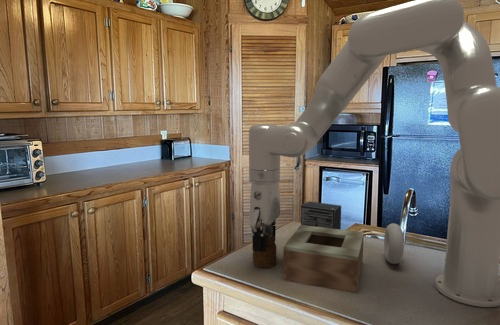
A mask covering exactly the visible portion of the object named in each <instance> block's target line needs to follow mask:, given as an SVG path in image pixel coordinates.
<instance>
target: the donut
mask: <svg viewBox="0 0 500 325" xmlns="http://www.w3.org/2000/svg"><path fill="white" fill-rule="evenodd" d="M404 241H405V240H404V233H403V230H402V228H401V226H400V225H399V224H397V223H390V224H388V225H387V226H386V228H385V231H384V240H383V242H384V243H383V244H384V245H383V250H384V256H385V259H386V260H387V262H388V263H390V264H392V265H397V264H399V263H400V262H401V261H402V259H403V255H404V250H405V247H404V246H405V242H404Z"/></svg>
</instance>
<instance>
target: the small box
mask: <svg viewBox="0 0 500 325" xmlns="http://www.w3.org/2000/svg"><path fill="white" fill-rule="evenodd" d="M300 209H301V210H300V225H306V226H314V227H323V228H331V229H340V230H342V227H341V225H342V223H341V222H342V205H339V204H332V203H331V204H330V203H324V202H316V201H307V202H305V203H302V204H301V205H300Z"/></svg>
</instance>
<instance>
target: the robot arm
mask: <svg viewBox="0 0 500 325" xmlns="http://www.w3.org/2000/svg"><path fill="white" fill-rule="evenodd" d="M413 50H417V51H420V52H423V53H427V54H430V55H432V56H433V57H434V58H435V59H436V60H437V62H438V63H439V65H440V69H441V72H442V77H443V78H442V80H443V82H444V90H445V98H446V99H445V100H446V108H447V120H448V123H449V125H450V126H451V128H452V129H453V130H454V131H455V132H456V133H458V139H459V147H460V148H459V149H458V150H457V151H456V152H455V154H454V155H453V157H452V159H451V163H450V169H449V170H450V171H449V179H450V180H449V181H450V182H449V183H450V186H449V190H450V192H449V196H450V197H449V213H448V224H447V232H446V233H447V236H446V246H445V258H444V259H445V262H444V270H443V272H444V273H443V274H440V275H437V277H436V278H435V283H434V285H435V286H434V287H435V288H436V289H437V291H439V292H440V293H441V294H442V295H443V296H445V297H447V298H448V299H451V300H453V301H456V302H458V303H460V304H461V303H462V304H464V305H469V306H473V307H481V308H493V307H500V275H499V270H500V86H498V85H497V80H496V78H497V77H496V73H495V66H494V62H493V57H492V52H491V49H490V46H489V43H488V42H487V40H486V38H485V36H483V34H482V33H481V32H480V31H479V30H478V29H477V28H475V27H474V26H473V25H472V24H470V23H469V22H467V21H465V12H464V8H463V6H462V3H461V2H459V0H412V1H407V2H404V3H401V4H396V5H392V6H390V7H386V8H382V9H379V10H376V11H372V12H370V13H366V14H364V15H362V16H360V17H359V18H356V20H355V21H354V22H353V23H352V24H351V26H350V28H349V31H348V34H347V41H346V42H345V43H344V45H343V46H342V48H341V49H340V51H338V53H337V54H336V56H335V57H334V58H333V60H332V61H331V62H330V64H329V65H328V66H327V68H326V69H325V70H324V72H323V73H322V74H321V76H320V77H319V78H318V81H317V83H316V85H315V86H316V87H315V90H314V93H313V96H312V98H311V100H310V101H309V103H308V104H307V106H306V107H305V109H304V110H303V112H302V113H301V114H300V116H299V117H298V118H297V119H296V121H295V122H293V124H287V125H279V126H278V125H276V124H272V123H271V124H270V123H269V124H266V123H264V124H263V123H262V124H261V123H260V124H253V125H251V126H250V127H249V130H248V182H249V183H250V184H251V185H250V186H251V187H250V196H249V197H250V198H249V219H250V229H251V235H252V236H251V238H252V252H253V251H258V252H265V251H266V236H264V233H267V234H272V235H274V236H275V237H277V236H276V234H277V233H276V231H277V230H276V220H277V219H278V218H279V217H280V215H281V200H280V198H281V195H280V194H281V192H280V182H281V157H286V158H294V159H295V158H299V157H301V156H304V155H305V154H306V153H308V152H309V151H311V150H312V149H313V148H314V147H315V146H316V144H317V143H318V142H319V141H320V140H321V138H323V136H324V135H325V133H326V132H327V131H328V129H329V128H330V127H331V126H332V125H333V123H334V122H335V121H336V119H337V118H338V117H339V116H340V115H341V113H342V112H343V111H344V110H345V109H346V108H348V105H349V104H350V102H352V101H353V99H354V98H355V96H357V94H358V92H359V91H360V90H361V89H362V87H363V86H364V85H365V84H366V83H367V81H368V80H369V79H370V78H371V76H372V75H373V74H374V73H375V71H376V70H377V69H378V68H379V67H380V65H381V64H383V62H384V60H385V59H387V58H386V57H388V56H390V55H396V54H400V53H406V52H410V51H413ZM259 220H260V222H259ZM261 221H262V223H261ZM270 224H271V225H272V226H271V225H270ZM258 225H259V226H261V229H260V227H258ZM265 227H266V229H265ZM272 227H273V231H272ZM270 228H271V231H270ZM268 231H269V233H268Z"/></svg>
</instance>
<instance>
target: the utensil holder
mask: <svg viewBox="0 0 500 325" xmlns="http://www.w3.org/2000/svg"><path fill="white" fill-rule="evenodd" d="M258 222H260V223H263V221H260V220H259V221H258ZM270 225H271V224H270ZM271 226H272V225H271ZM258 227H260V229H262V226H259V225H258ZM265 229H266V227H265ZM270 231H271V228H270ZM272 231H273V227H272ZM268 233H269V231H268ZM264 236H266V251H265V252H258V251H253V250H252V262H253V264H254V265H255V266H256V267H258V268H265V269H267V268H268V269H269V268H272V267H274V266H275V265H276V263H277V252H278V251H277V244H276V236H274V235H272V234H267V233H264Z"/></svg>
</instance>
